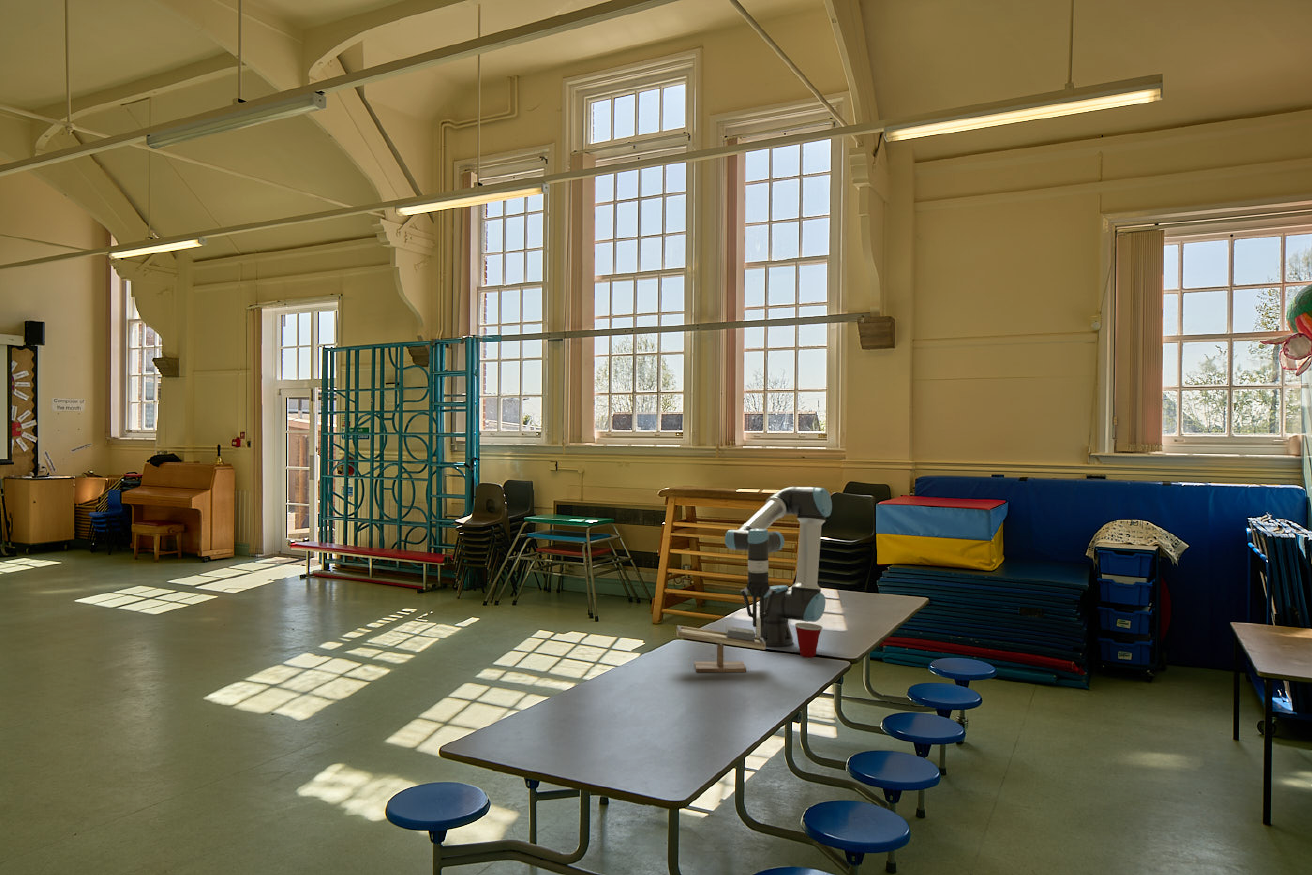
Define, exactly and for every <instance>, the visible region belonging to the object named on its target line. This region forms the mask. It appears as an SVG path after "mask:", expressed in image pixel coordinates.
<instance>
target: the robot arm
mask: <svg viewBox="0 0 1312 875" xmlns="http://www.w3.org/2000/svg"><path fill="white" fill-rule="evenodd" d="M832 502H833V501H832V498H831V495H830V493H829V491H828V490H827V489H826V488H824V487H817V486H813V487H812V486H790V487H789V486H787V487H784V488H782V489H781V490H779V491H777V492H775V493H773V494H772V495H771V496H769V497H768V498H767V499H766V500H765V503H764V505H762V507H760V509H759V510H758V511H757V512H755V513H754V514H753V515H752V516H751V517H750V518H749V519H747V521H745V523H743V524H742V525H741V526H740V527H739V528H738V529H729V530H727V531H726V533H725V536H724V542H725V543H724V544H725V546H726V548H727V549H730V550H735V551H747V570H748V572H747V585H746V586H745V588H744V589H741V590H740V593H741V594H742V595H741V596H742V597H743V600H744V604H745V607H746V608H745V609H746V613H747V616H748V617H750V618H752V626H753V628H755V637H761V638H763V639H764V641H765V642H766V646H765V647H787V646H786V645H788V646H791V645H793V643H794V641H793V640H794V638H793V634H792V631H791V628H790V625H789V620H795V621H800V622H804V623H816V622H818V621H819V620H820V619H821V618H822V617H823V614H824V612H825V609H826V604H827V603H826V601H827V600H826V597H825V595H824V594H823V592H821V591H822V590H821V589H822V587H820V586H819V584H818V578H819V566H820V565H819V564H820V563H819V562H820V554H821V553H820V552H821V551H820V550H821V537H822V525H823V524H824V523H825V522H826V518H827V517H830V516H831V514H832V510H833V503H832ZM787 515H794V516H796V520H797V521H798V522H799V524H800V525H799V533H798V534H799V537H798V550H797V564H796V574H795V575H796V576H795V582H794V583H793V584H792V585H791V589H790V588H789V586H788V585H785V584H784V585H783V584H782V585H781V584H780V585H772V586H770V584H769V583H770V582H769V554H770V553H776V552H778V551H781V550H782V549H783V548H784V546H785V537H784V536H783V534H782V533H780V532H779V531H768V528H769V527H771V526H772V524H774V522H775V521H777V520H778V519H781V518H784V517H785V516H787ZM748 593H749V594H750V595H751V596H752V597H751V598H752V611H751V606H750V602H749V597H748ZM758 600H759V617H757V616H758V614H757V609H758V608H757V606H758V605H757V604H758V603H757V602H758ZM790 644H791V645H790Z"/></svg>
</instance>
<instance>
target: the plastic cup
mask: <svg viewBox="0 0 1312 875" xmlns="http://www.w3.org/2000/svg"><path fill="white" fill-rule="evenodd" d="M794 627H795V631H796V635H797V636H796V637H797V642H798V648H799V654H800V656H801V657H802V656H803V658H814V656H815V657H816V655H817V649H818V643H819V638H820V635H821V632H822V629H823V628H824V627H823V626H822V625H819V624H815V623H812V622H796V623H794Z"/></svg>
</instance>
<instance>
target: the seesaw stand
mask: <svg viewBox="0 0 1312 875" xmlns="http://www.w3.org/2000/svg"><path fill="white" fill-rule="evenodd" d="M694 668H695V672H696V673H735V672H736V673H746V672H747V666H746V665H745V663H744V661H739V660H738V661H737V660H736V661H735V660H734V661H724V644H723V645H722V646H720V644H719V643H716V661H694Z"/></svg>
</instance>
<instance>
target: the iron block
mask: <svg viewBox="0 0 1312 875" xmlns="http://www.w3.org/2000/svg"><path fill="white" fill-rule="evenodd" d="M725 636H726V638H732V639H739V640H745V641H752V642H754V641H755V637H756V631H755V630H754V629H751V628H750V629H749V628H743V627H737V626H729V625H726V626H725Z"/></svg>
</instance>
